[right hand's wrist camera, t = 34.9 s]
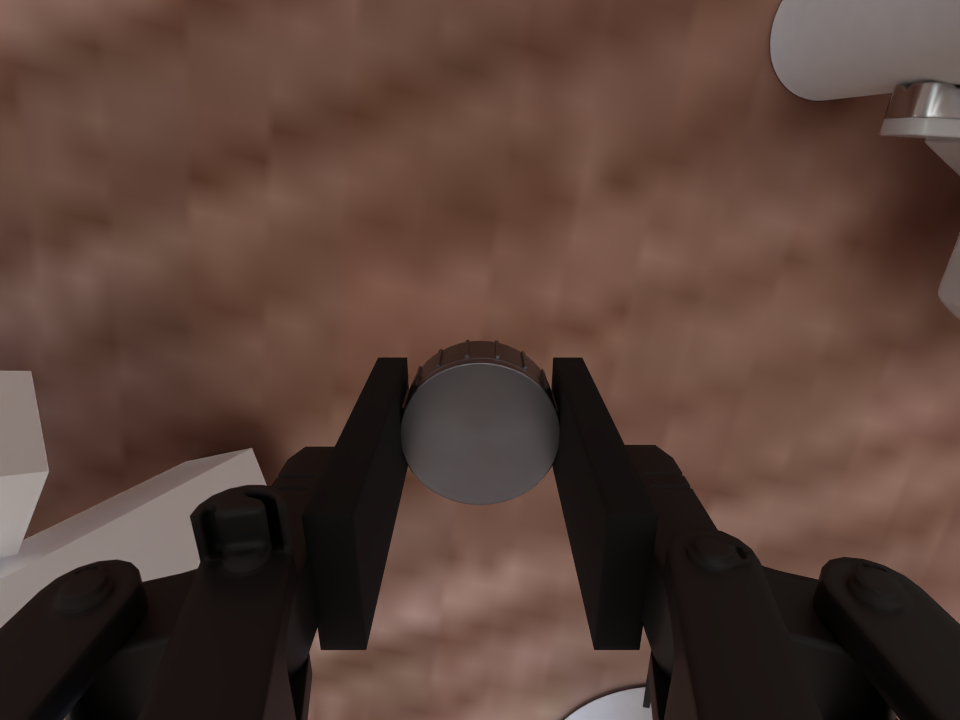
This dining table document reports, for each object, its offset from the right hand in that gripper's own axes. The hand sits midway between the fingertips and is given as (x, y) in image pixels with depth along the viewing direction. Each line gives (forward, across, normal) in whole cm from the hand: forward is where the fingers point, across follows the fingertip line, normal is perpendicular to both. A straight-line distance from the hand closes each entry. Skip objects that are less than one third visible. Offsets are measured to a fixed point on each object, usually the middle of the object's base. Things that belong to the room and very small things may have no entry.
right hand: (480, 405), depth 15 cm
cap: (-1, 0, 0) cm, 1 cm away
